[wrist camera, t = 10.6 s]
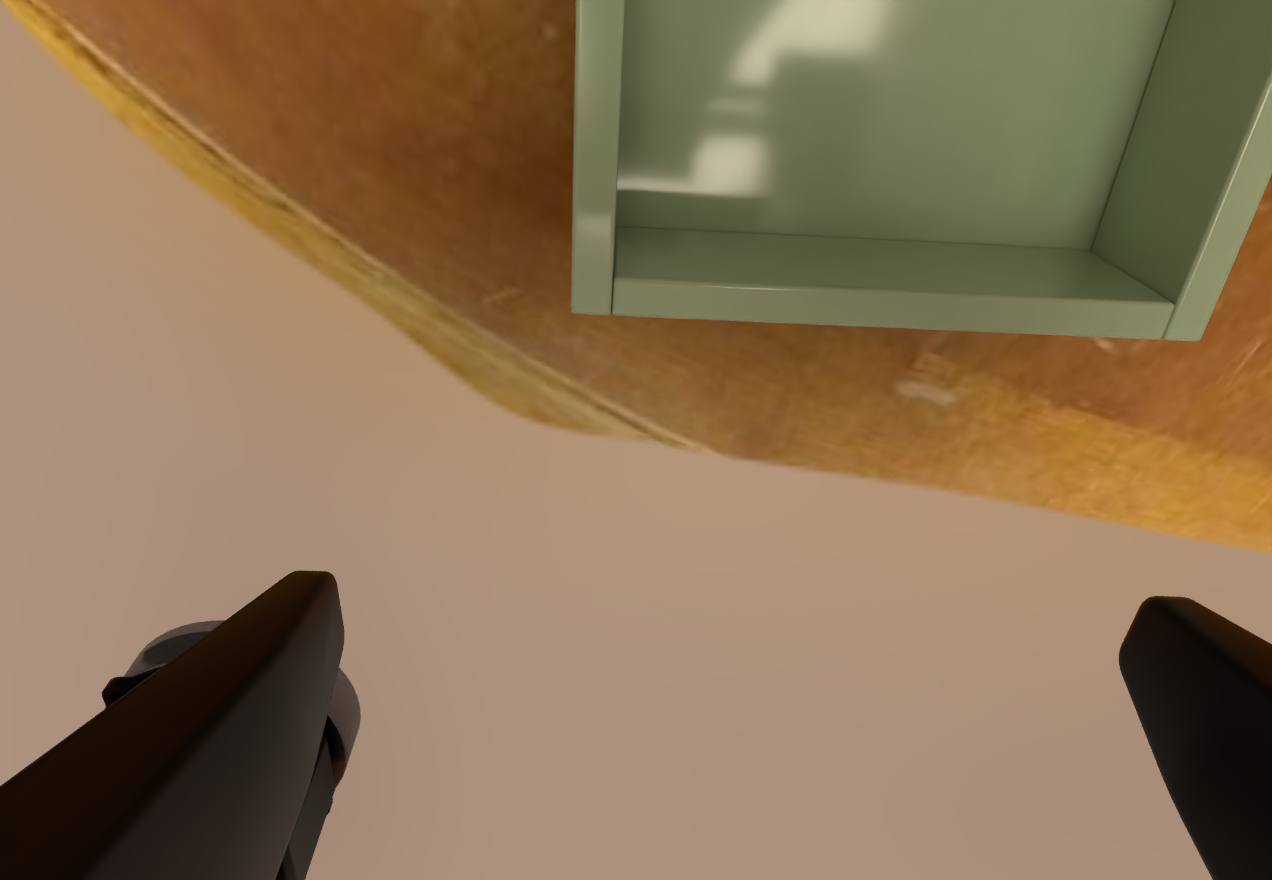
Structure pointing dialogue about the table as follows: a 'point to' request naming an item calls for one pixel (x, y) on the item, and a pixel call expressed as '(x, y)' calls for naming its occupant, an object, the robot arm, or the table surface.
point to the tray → (919, 161)
